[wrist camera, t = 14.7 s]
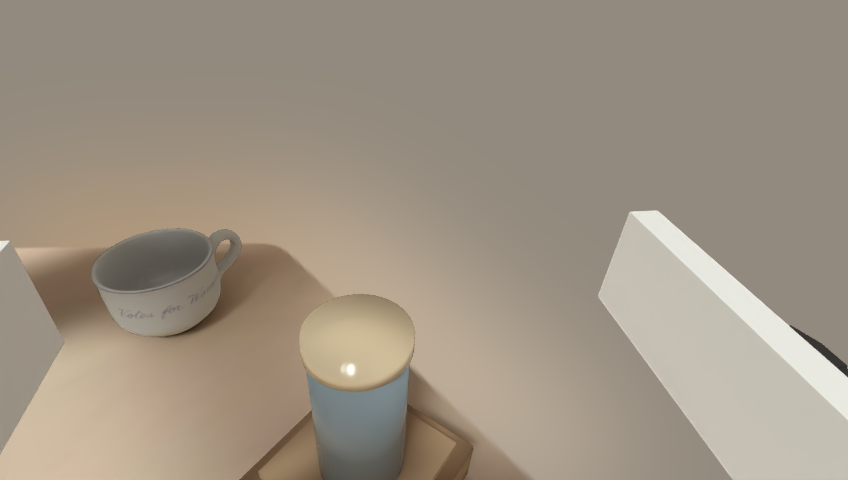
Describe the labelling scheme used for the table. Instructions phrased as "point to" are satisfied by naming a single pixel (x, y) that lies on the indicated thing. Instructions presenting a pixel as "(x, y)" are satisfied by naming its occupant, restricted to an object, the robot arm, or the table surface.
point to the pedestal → (422, 466)
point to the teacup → (163, 279)
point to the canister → (358, 385)
